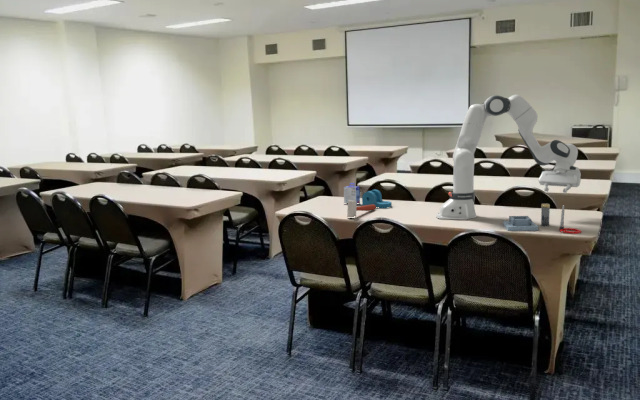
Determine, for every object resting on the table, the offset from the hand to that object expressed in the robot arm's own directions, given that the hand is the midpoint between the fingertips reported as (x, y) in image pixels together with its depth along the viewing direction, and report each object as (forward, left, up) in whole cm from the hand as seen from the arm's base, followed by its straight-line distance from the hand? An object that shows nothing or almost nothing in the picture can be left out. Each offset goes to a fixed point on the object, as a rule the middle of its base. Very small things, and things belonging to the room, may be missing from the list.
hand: (555, 191), depth 269 cm
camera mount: (-96, +51, -16) cm, 109 cm away
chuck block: (-20, -14, -16) cm, 29 cm away
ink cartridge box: (-114, +61, -16) cm, 130 cm away
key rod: (-7, -10, -16) cm, 20 cm away
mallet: (-104, +26, -16) cm, 109 cm away
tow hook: (+1, -24, -16) cm, 29 cm away
